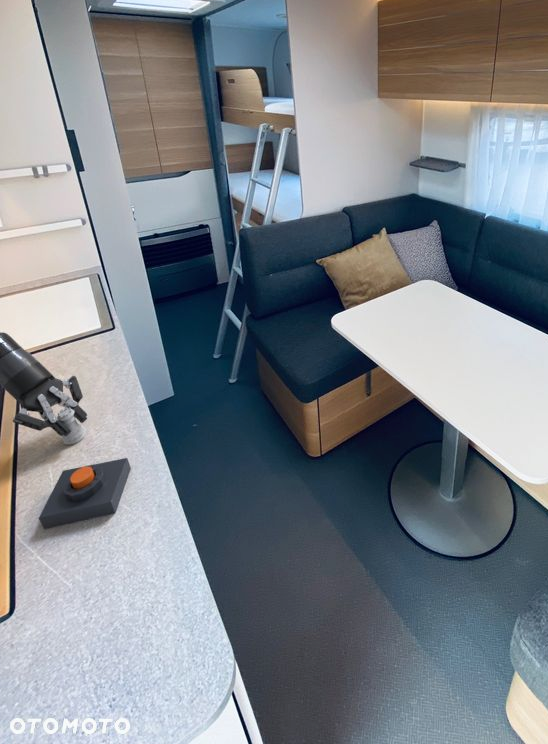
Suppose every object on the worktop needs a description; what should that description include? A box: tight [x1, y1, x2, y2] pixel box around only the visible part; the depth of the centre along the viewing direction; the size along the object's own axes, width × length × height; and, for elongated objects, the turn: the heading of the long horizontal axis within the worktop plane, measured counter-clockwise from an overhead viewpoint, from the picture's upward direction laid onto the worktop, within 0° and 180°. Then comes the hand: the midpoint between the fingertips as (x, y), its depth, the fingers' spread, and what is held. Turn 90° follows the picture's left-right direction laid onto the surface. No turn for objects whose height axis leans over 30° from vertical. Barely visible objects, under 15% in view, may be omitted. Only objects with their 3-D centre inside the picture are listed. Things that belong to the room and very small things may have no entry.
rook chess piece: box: [56, 407, 87, 445], centre depth 93 cm, size 4×4×8 cm
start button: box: [70, 465, 95, 489], centre depth 79 cm, size 4×4×2 cm
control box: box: [38, 457, 132, 530], centre depth 81 cm, size 12×10×5 cm
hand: (76, 426), depth 93 cm, fingers closed on rook chess piece, 3 cm apart
